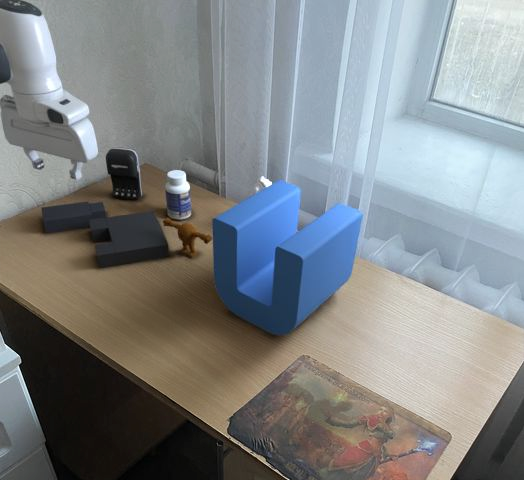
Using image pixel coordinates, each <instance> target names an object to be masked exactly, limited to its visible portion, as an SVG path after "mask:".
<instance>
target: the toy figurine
mask: <svg viewBox="0 0 524 480" xmlns="http://www.w3.org/2000/svg"><path fill="white" fill-rule="evenodd" d="M162 223H163V226H164V227H171V228H175V229H176V230H177V237H178V239H179V240H180V241H181V243H182V244H181V245H182V249H180V254H182V255H186V254H187V255H188V257H189V258H194V257H197V256H198V252H197V249H196V248H195V242H196V239H197V238H199V239H200V240H201V241H203V243H204V244H205V245H208V244H209V243H210V242H211V241H213V236H212V235H210V234H206V233H201V232H199V231H197V228H196V226H194V224H191V223H189V222H184V223H181V224H180V223H178V222H175V221H174V220H172V218H170V217H165V218H164V219H163V220H162Z"/></svg>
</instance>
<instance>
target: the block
mask: <svg viewBox="0 0 524 480" xmlns="http://www.w3.org/2000/svg"><path fill="white" fill-rule="evenodd" d="M301 193H302V190H301V188H300V187H299V186H297V185H294V184H292V183H289V182H286V181H284V180H281V179H279V180H276V181H275V182H273V183H272V184H271V185H270V186H268V187H266V188H264V189H263V190H261V191H259V192H258V193H256V194H254V195H253V194H252V195H250V196H249V197H247V198H245V199H244V200H242V201H240V202H239V203H237V204H235V205H234V206H232V207H230V208H229V209H227V210H225V211H223V212H222V213H220V214H219V215H217V216H215V217H213V218H212V221H211V223H212V224H211V226H212V257H213V259H212V260H213V261H212V262H213V282H214V287H215V289H216V292H217V294H218V296H219V298H220V300H221V302H222V303H223V304H224V306H225V307H226V308H227V309H228V310H230V312H232V313H233V315H236V316H238V317H239V318H241V319H243V320H245V321H246V322H249V323H251V324H252V325H254V326H256V327H258V328H260V329H262V330H264V331H265V332H267V333H269V334H271V335H276V336H286V335H288V334H290V333H291V332H292V331H294V330H295V329H296V328H297V327H298V326H300V324H302V323H303V321H305V320H306V319H307V318H308V317H309V316H311V315H312V313H314V312H315V311H316V310H317V309H318V308H319V307H320V306H321V305H323V304H324V303H325V302H326V301H327V300H328V299H329V298H331V297H332V295H334V294H335V293H336V292H338V291H339V290H340V288H341V287H343V286H344V285H345V284H346V283H347V282H348V281H349V280H350V278H351V276H352V274H353V268H354V264H355V259H356V253H357V248H358V242H359V237H360V236H359V235H360V232H361V227H362V222H363V217H364V216H363V215H364V214H363V212H362V211H361V210H359V209H357V208H354V207H352V206H349V205H346V204H344V203H341V202H338V203H336V204H335V205H333V206H332V207H331V208H329V209H328V210H326V211H324V213H322V214H321V215H320V216H318V217H317V218H315V219H314V220H312V221H311V222H310V223H308V224H307V225H305V226H304V227H303V228H301V229H300V230H298V226H299V225H298V224H299V216H300V215H299V214H300V206H301V205H300V204H301V195H302V194H301Z"/></svg>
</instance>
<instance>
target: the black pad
mask: <svg viewBox="0 0 524 480" xmlns="http://www.w3.org/2000/svg"><path fill="white" fill-rule="evenodd" d="M88 221H89V225H90V227H89V230H90V234H91V238H92V242H93V243H95V244H94V250H95V254H96V259H97V262H98V266H99V269H103V268H109V267H114V266H122V265H129V264H135V263H141V262H145V261H152V260H158V259H165V258H169V257H170V248H169V242H168V240H167V238H166V236H165V233H164V231H163V228H162V227H161V224H160V222H159V220H158V217H157V215H156V212H155V210H150V211H143V212H135V213H129V214H120V215H114V216H113V215H112V216H107V217H105V218H98V219H91V220H88ZM104 241H107V242H104ZM97 242H100V243H97Z"/></svg>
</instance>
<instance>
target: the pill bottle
mask: <svg viewBox="0 0 524 480" xmlns="http://www.w3.org/2000/svg"><path fill="white" fill-rule="evenodd" d="M166 178H167V179H166V180H167V181H166V183H165V186H164V191H165V201H166V212H167V216H168V218H170V219H171V220H172V219H173V220H176V221H177V220H178V221H180V220H181V221H183V220H186V219H188V218H190V216H191V215H192V205H191V204H192V203H191V202H192V201H191V186H190V183H189V181H187V174H186V172H185V171H183V170H180V169H174V170H170V171H169V172H167V174H166Z"/></svg>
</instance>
